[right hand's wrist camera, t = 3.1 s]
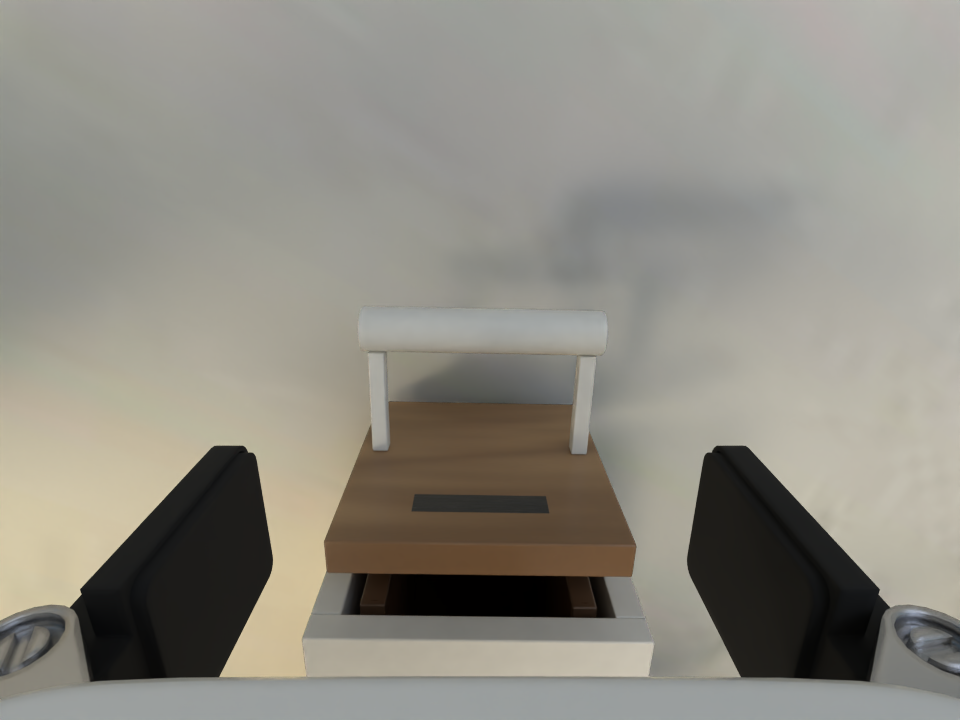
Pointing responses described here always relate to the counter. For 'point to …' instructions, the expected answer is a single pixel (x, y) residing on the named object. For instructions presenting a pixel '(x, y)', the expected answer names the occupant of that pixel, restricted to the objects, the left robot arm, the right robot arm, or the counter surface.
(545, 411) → the drawer
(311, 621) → the cabinet
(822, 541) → the right robot arm
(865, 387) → the counter surface
